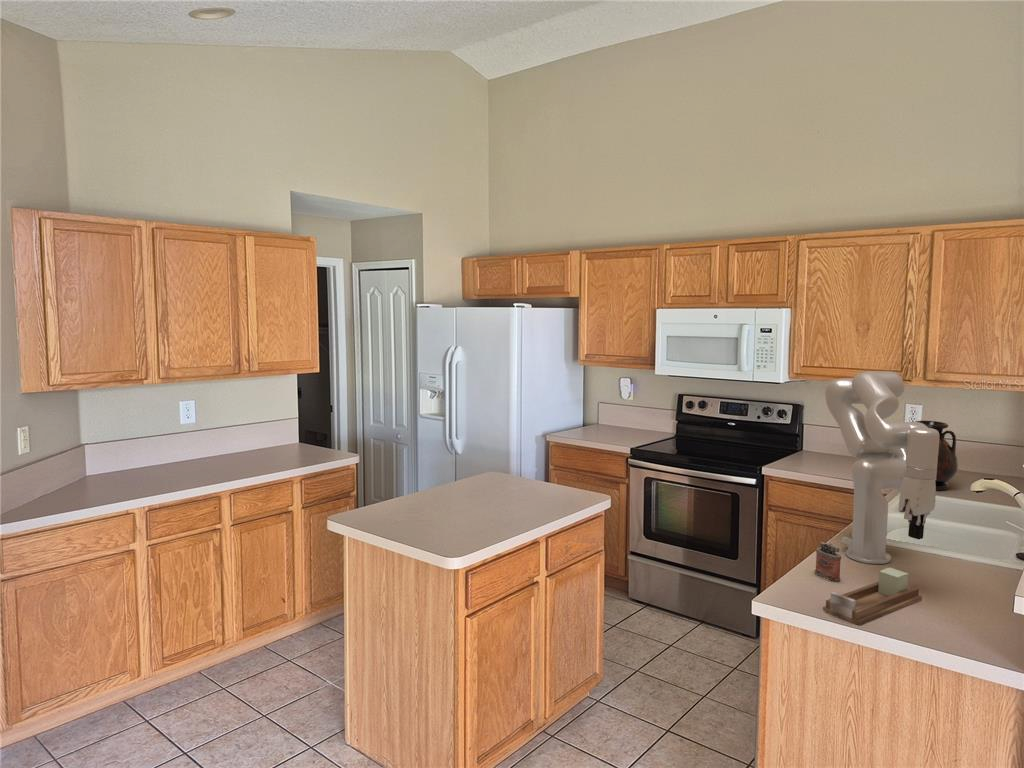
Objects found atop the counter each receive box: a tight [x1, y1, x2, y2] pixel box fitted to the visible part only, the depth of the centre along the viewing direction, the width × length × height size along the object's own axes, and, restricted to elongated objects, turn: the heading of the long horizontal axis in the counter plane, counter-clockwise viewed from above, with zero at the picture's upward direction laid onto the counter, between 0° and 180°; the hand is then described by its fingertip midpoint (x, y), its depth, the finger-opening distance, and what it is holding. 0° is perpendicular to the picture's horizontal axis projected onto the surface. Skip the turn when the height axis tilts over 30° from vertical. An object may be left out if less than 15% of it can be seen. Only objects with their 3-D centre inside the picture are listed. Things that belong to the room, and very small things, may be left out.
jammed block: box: [878, 567, 909, 596], centre depth 187 cm, size 5×5×6 cm
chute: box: [822, 580, 922, 626], centre depth 183 cm, size 10×28×6 cm, turn 121°
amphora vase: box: [914, 420, 959, 492], centre depth 299 cm, size 22×22×28 cm
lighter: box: [814, 541, 842, 583], centre depth 201 cm, size 8×3×10 cm, turn 23°
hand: (915, 537), depth 191 cm, fingers closed
